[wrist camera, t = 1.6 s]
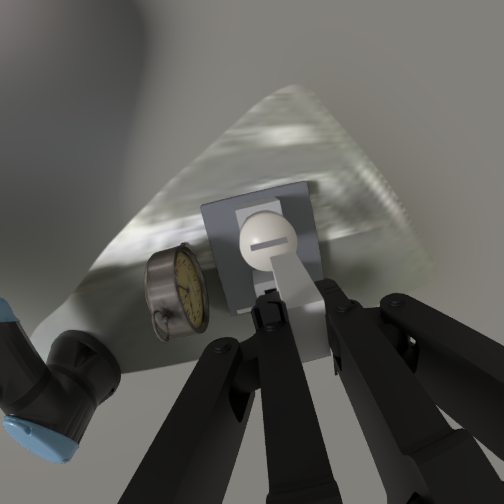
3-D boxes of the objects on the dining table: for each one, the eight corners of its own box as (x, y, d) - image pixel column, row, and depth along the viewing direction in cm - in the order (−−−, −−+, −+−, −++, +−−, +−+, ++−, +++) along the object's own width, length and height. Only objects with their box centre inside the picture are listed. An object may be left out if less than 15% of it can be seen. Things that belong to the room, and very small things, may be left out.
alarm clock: (214, 303, 42) (202, 373, 26) (181, 310, 42) (154, 380, 26) (191, 233, 39) (160, 274, 23) (156, 243, 39) (109, 288, 23)
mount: (231, 309, 42) (230, 334, 35) (201, 204, 38) (193, 212, 31) (322, 287, 42) (336, 308, 35) (303, 181, 37) (316, 183, 30)
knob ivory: (245, 252, 33) (247, 277, 25) (235, 210, 32) (233, 222, 24) (287, 242, 33) (302, 264, 25) (278, 199, 31) (291, 209, 24)
